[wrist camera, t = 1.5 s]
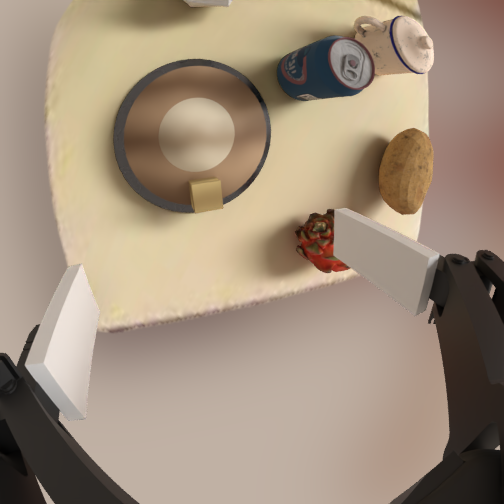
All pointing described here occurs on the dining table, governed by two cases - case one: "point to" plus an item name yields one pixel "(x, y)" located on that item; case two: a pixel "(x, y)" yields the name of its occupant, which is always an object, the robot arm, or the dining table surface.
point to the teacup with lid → (396, 45)
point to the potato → (406, 171)
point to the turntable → (195, 136)
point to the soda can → (326, 69)
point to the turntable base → (123, 116)
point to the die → (208, 3)
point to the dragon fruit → (319, 242)
